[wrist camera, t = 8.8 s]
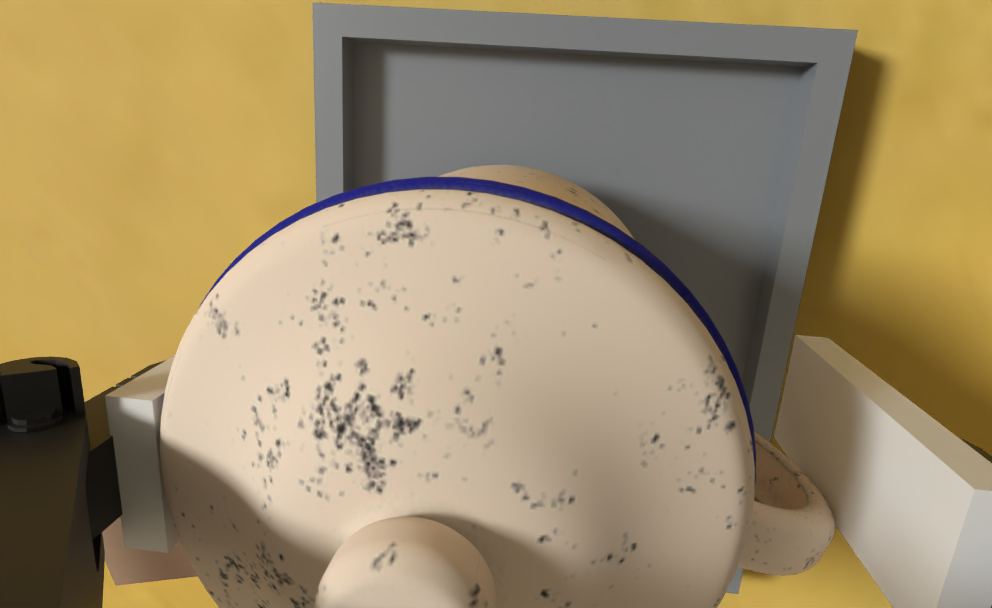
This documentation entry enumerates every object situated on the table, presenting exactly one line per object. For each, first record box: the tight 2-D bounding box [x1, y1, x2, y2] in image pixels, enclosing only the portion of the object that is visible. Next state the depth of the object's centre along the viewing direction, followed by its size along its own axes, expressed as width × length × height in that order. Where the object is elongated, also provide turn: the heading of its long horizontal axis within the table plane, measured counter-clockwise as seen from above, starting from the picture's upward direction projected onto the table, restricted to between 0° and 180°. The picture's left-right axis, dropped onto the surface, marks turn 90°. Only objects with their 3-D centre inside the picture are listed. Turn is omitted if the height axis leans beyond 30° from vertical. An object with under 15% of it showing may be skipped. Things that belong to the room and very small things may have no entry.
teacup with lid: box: [160, 165, 835, 608], centre depth 12 cm, size 12×9×12 cm
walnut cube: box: [102, 517, 198, 585], centre depth 20 cm, size 4×4×4 cm
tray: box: [313, 3, 858, 594], centre depth 19 cm, size 14×17×2 cm
